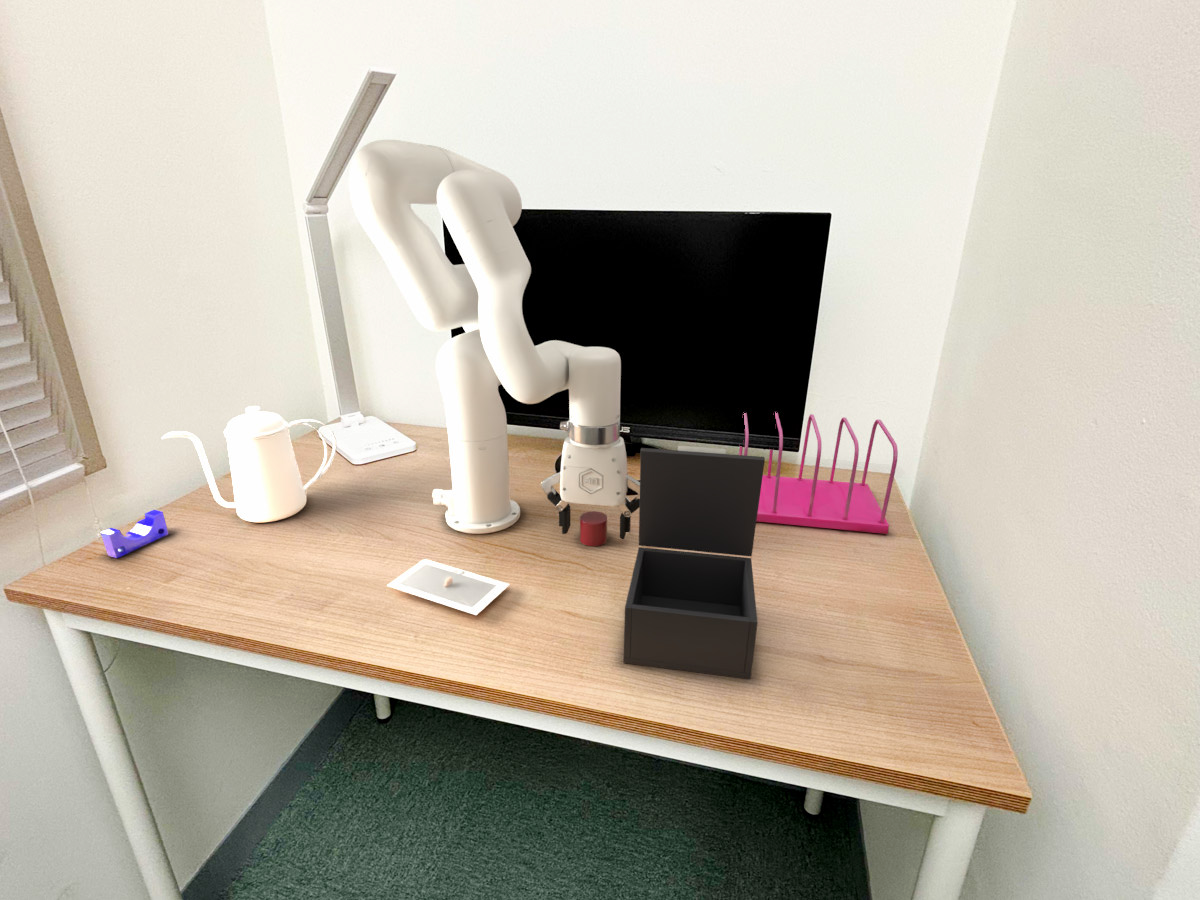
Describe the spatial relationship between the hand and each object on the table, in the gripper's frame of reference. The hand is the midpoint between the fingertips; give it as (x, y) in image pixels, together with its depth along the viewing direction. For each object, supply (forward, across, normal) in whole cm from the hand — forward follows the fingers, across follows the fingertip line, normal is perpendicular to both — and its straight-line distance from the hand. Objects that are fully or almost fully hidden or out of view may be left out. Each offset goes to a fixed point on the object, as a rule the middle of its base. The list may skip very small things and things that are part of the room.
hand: (594, 532), depth 99 cm
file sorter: (+2, +35, +19) cm, 40 cm away
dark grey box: (+1, +16, -21) cm, 26 cm away
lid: (-14, +16, -16) cm, 26 cm away
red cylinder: (+1, 0, 0) cm, 1 cm away
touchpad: (+1, -17, -18) cm, 25 cm away
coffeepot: (+1, -57, -1) cm, 57 cm away
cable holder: (+1, -70, -15) cm, 72 cm away
